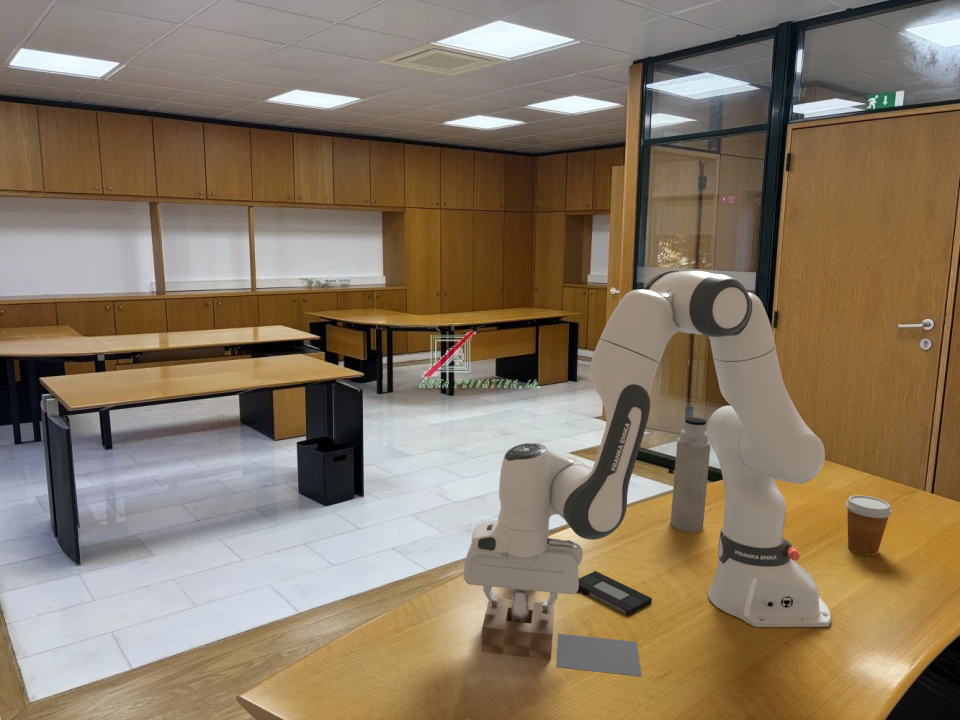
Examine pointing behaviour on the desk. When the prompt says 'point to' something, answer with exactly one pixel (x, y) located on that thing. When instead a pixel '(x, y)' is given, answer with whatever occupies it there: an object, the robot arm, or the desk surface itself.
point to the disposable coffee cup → (866, 523)
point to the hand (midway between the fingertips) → (519, 609)
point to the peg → (520, 605)
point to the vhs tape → (613, 593)
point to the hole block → (518, 631)
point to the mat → (598, 655)
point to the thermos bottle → (690, 476)
